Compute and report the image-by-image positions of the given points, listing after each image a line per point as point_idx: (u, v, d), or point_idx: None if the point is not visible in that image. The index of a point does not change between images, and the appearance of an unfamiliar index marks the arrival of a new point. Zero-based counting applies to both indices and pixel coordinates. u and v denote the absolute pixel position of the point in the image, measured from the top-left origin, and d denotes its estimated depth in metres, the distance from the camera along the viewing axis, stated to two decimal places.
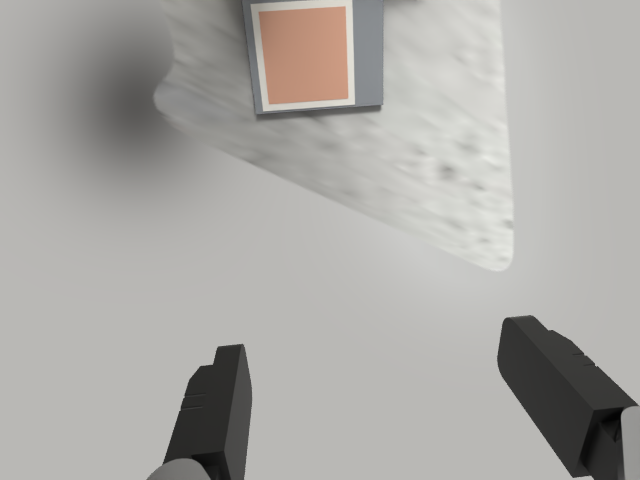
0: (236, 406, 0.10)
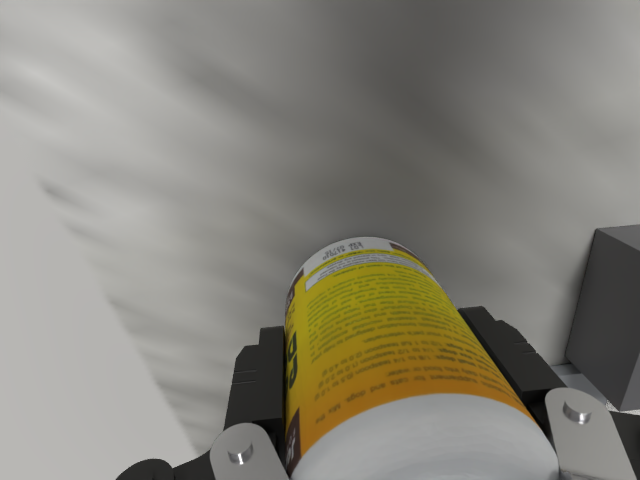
0: (284, 381, 0.10)
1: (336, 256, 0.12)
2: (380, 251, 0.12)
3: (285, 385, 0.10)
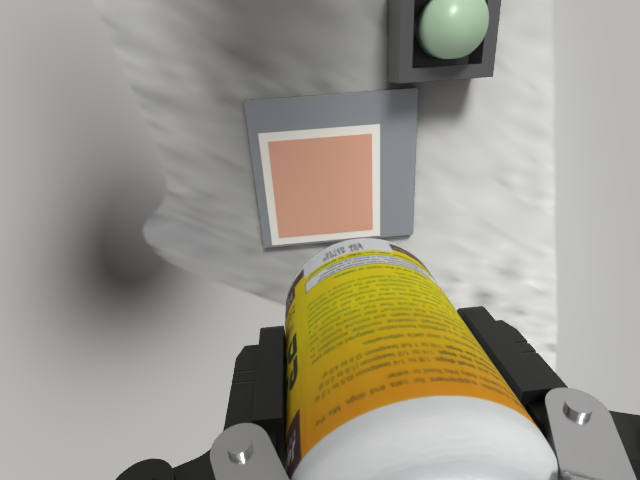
0: (284, 381, 0.10)
1: (336, 257, 0.12)
2: (380, 252, 0.12)
3: None
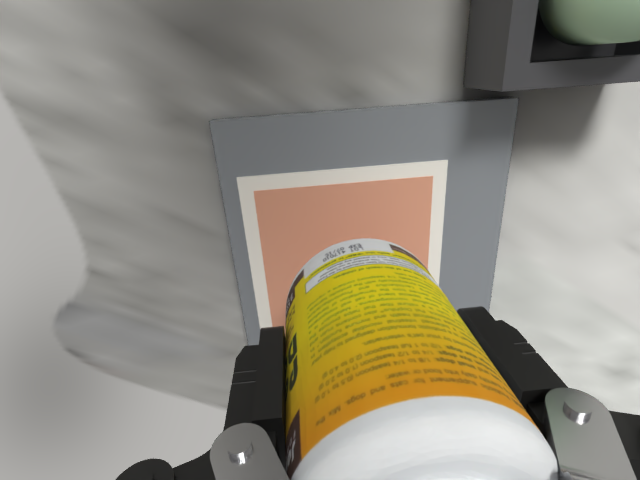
0: (284, 381, 0.10)
1: (336, 258, 0.12)
2: (380, 253, 0.12)
3: None
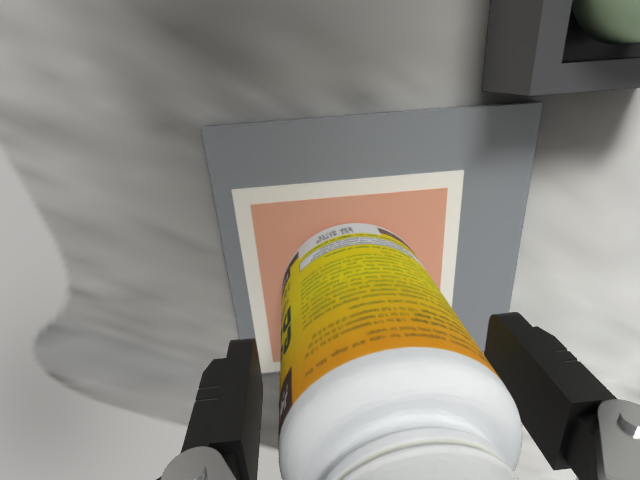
0: (250, 397, 0.10)
1: (328, 240, 0.13)
2: (368, 235, 0.13)
3: (280, 353, 0.11)
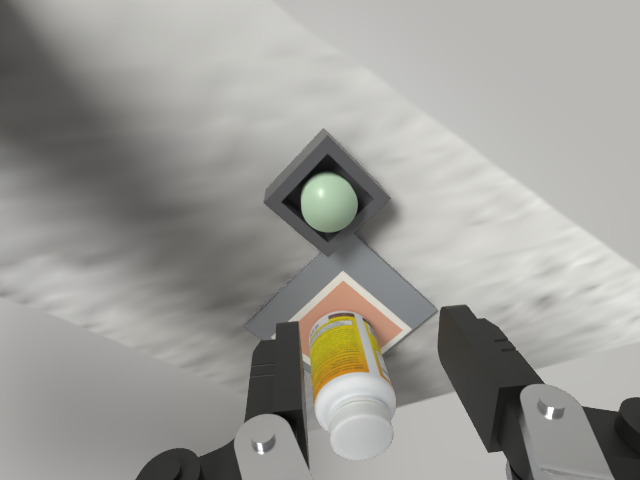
0: (301, 374, 0.10)
1: (312, 335, 0.31)
2: (323, 325, 0.30)
3: None
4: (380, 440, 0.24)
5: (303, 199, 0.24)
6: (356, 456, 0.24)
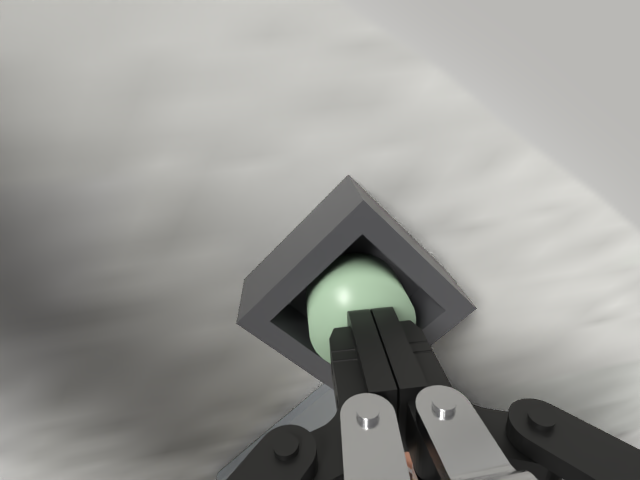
0: None
1: None
2: None
3: None
4: None
5: (313, 318, 0.13)
6: None
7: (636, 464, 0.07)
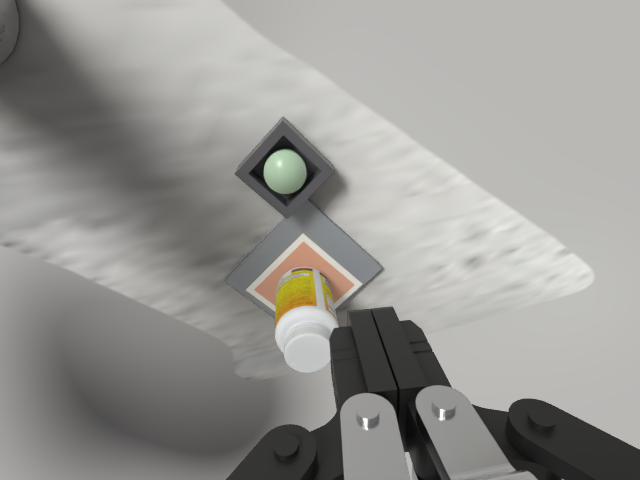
0: None
1: (278, 286, 0.38)
2: (287, 277, 0.38)
3: None
4: (323, 355, 0.31)
5: (265, 167, 0.32)
6: (305, 369, 0.31)
7: (636, 463, 0.07)
